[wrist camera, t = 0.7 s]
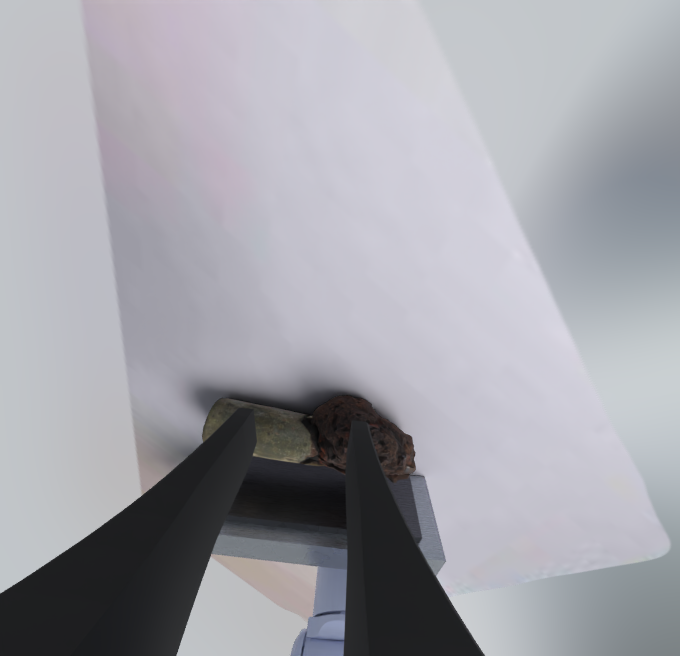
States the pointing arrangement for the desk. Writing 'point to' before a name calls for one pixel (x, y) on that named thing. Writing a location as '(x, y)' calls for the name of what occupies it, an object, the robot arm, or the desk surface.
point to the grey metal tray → (312, 516)
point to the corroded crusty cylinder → (320, 434)
